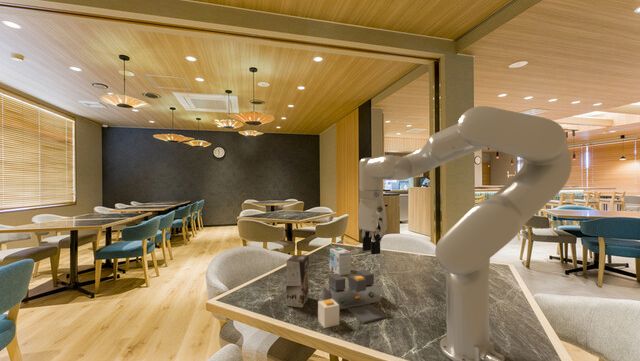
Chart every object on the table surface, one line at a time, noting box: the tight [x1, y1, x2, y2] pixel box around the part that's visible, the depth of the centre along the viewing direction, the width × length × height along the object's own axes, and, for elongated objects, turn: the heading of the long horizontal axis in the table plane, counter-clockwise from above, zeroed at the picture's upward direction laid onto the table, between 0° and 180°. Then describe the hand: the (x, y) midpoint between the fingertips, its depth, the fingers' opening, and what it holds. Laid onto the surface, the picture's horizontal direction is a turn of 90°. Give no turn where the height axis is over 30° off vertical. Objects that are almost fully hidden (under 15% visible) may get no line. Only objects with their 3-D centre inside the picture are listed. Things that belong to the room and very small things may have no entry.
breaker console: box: [321, 280, 381, 311], centre depth 98 cm, size 8×20×6 cm, turn 113°
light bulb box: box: [329, 247, 352, 276], centre depth 132 cm, size 11×7×11 cm, turn 25°
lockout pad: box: [348, 304, 388, 324], centre depth 88 cm, size 9×9×1 cm
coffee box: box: [285, 254, 310, 308], centre depth 98 cm, size 9×6×16 cm
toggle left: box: [328, 273, 346, 291], centre depth 96 cm, size 6×4×4 cm, turn 23°
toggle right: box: [356, 269, 375, 285], centre depth 100 cm, size 6×4×4 cm, turn 23°
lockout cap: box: [317, 299, 340, 329], centre depth 83 cm, size 5×5×7 cm
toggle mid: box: [347, 274, 366, 292], centre depth 94 cm, size 6×4×4 cm, turn 23°
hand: (371, 251), depth 86 cm, fingers open, 4 cm apart
